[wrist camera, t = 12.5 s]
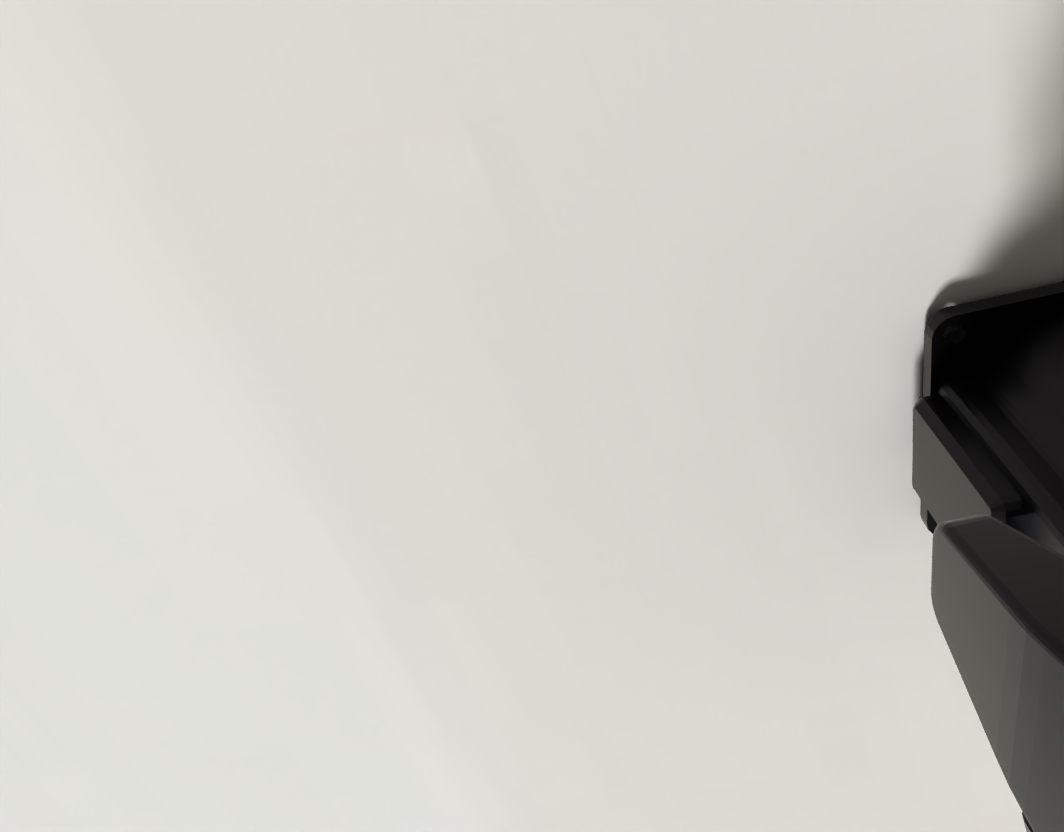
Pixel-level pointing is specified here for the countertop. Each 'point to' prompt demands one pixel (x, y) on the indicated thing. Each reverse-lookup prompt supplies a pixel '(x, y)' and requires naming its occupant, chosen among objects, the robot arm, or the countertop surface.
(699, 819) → the countertop surface
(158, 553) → the countertop surface
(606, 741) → the countertop surface
